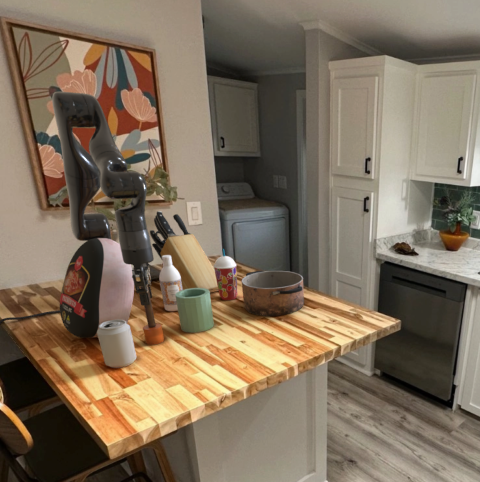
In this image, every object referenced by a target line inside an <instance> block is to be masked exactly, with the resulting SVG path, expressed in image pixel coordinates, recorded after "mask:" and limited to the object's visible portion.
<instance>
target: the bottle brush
mask: <svg viewBox="0 0 480 482" xmlns="http://www.w3.org/2000/svg"><path fill="white" fill-rule="evenodd" d="M147 287H148V285H147ZM140 289H144V288H143V286H140ZM148 295H149V300H150V304H149V305H144V307H143V308H144V312H145V317H146V321H147V322H146V323H147V324H145V325H144V326H142V330H143V331H142V332H143V335H144V341H145V344H146V345H149V346H152V345H158V344H159V345H160V344H161V343H163V342H165V336H164V331H163V327H162V326H163V325H162V324H161V323H159V322H158V323H156V319H155V314H154V309H153V303H152V298H150V293H149V288H148Z"/></svg>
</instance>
